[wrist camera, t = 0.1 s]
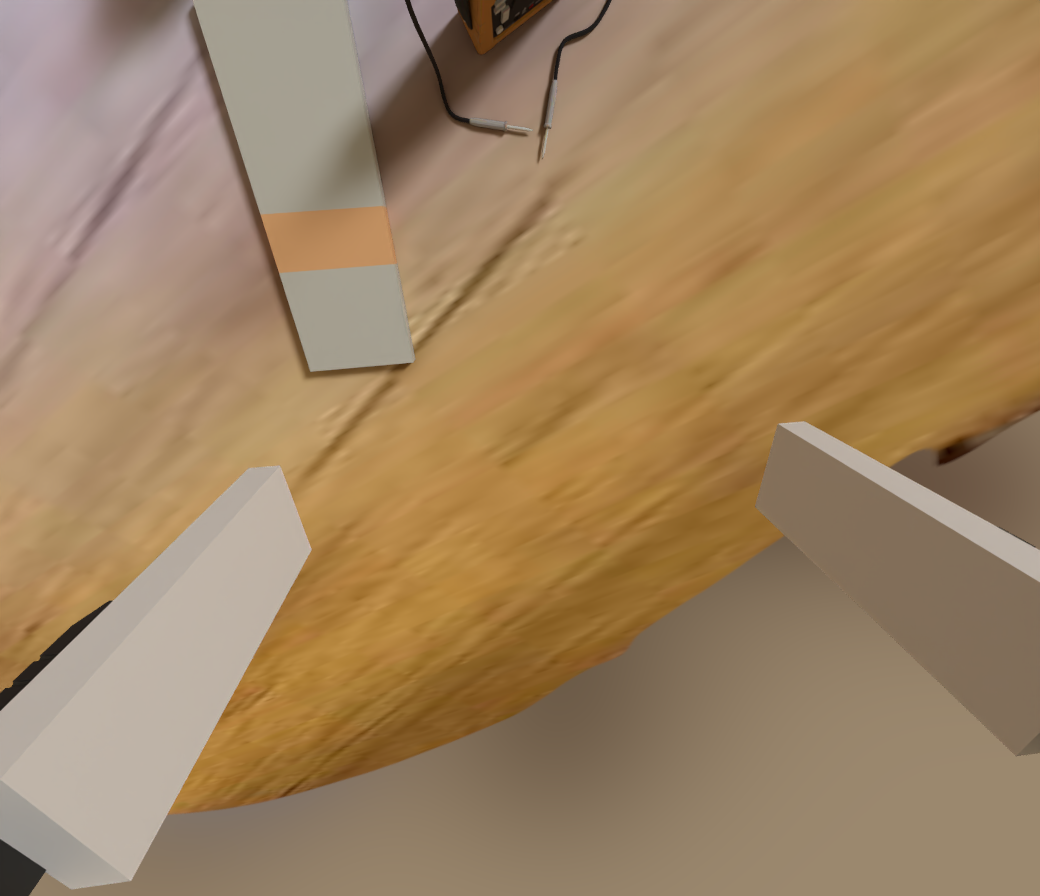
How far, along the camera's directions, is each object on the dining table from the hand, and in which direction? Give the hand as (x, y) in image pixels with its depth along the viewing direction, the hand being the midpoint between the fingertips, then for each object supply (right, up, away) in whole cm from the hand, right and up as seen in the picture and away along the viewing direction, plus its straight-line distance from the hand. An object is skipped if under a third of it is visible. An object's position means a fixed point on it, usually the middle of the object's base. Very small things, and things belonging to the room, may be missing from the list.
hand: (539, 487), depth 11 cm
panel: (-15, +19, +20) cm, 32 cm away
